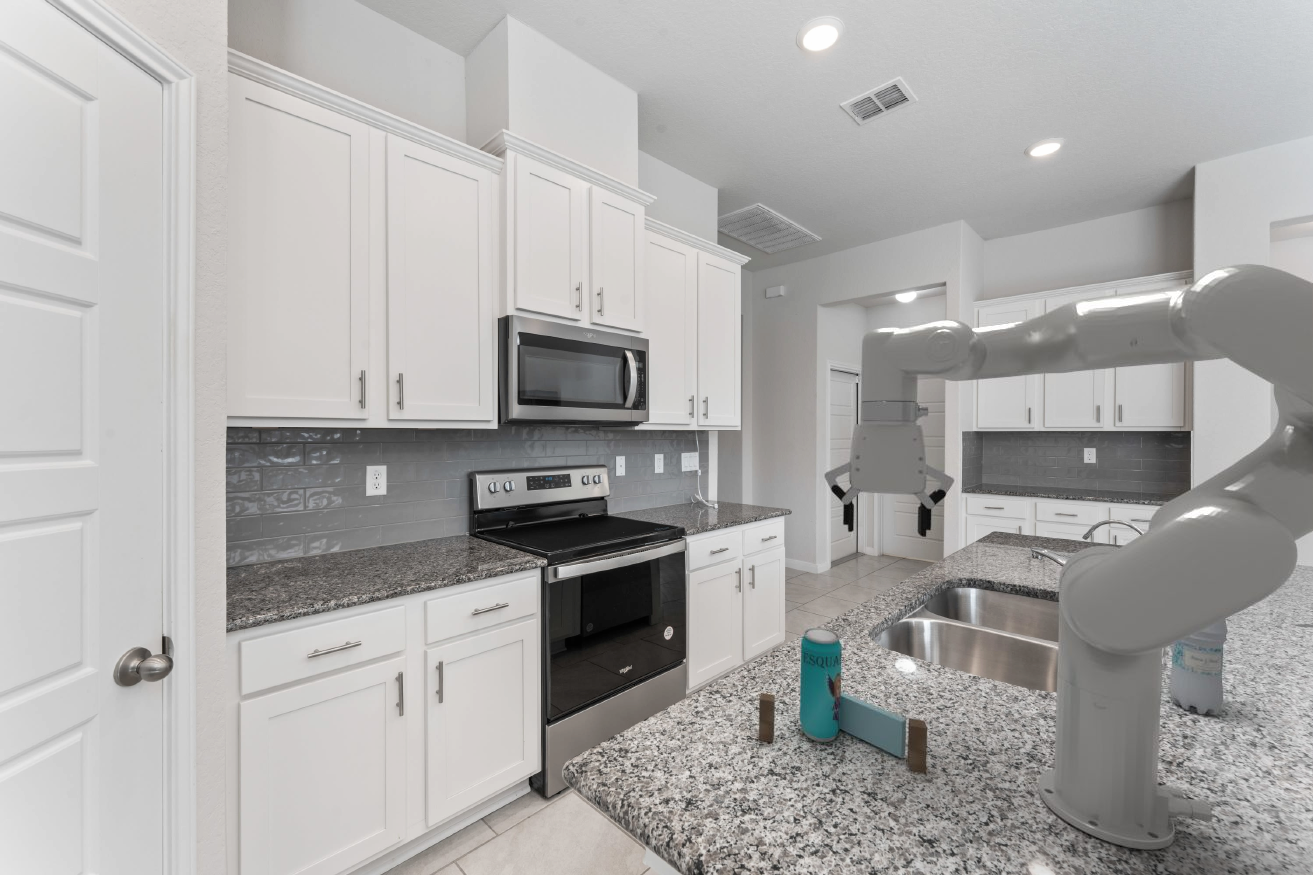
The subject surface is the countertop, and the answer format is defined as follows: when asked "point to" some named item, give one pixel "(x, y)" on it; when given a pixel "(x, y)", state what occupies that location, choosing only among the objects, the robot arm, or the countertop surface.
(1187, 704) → the bottle
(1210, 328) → the robot arm
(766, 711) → the twin wooden posts
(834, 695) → the beverage can
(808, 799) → the countertop surface
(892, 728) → the gate door
